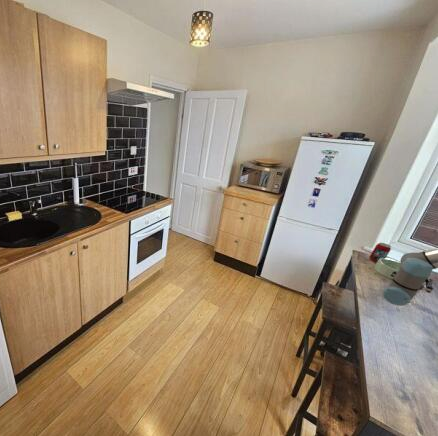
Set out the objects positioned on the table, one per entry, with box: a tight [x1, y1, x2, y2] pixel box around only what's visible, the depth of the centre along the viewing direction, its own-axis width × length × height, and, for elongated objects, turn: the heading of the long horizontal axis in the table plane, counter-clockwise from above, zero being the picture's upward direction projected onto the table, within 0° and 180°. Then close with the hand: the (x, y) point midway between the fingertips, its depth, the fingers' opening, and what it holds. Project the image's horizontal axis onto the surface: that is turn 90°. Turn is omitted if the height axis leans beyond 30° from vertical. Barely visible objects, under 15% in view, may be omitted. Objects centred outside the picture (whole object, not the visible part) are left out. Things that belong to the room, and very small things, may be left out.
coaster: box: [406, 300, 414, 306], centre depth 115 cm, size 9×9×1 cm
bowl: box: [373, 257, 401, 280], centre depth 133 cm, size 15×15×6 cm
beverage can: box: [368, 242, 392, 264], centre depth 145 cm, size 7×7×12 cm
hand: (420, 272), depth 112 cm, fingers closed on stirring pestle, 2 cm apart
